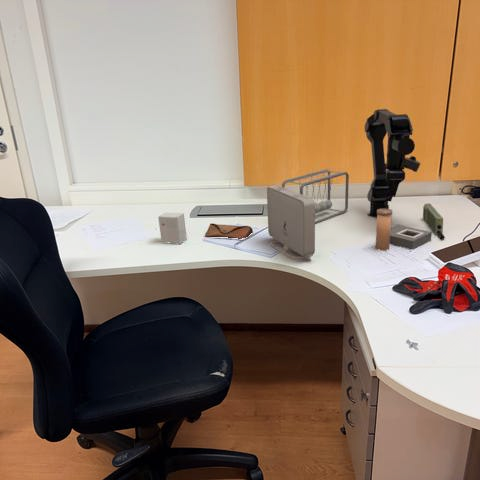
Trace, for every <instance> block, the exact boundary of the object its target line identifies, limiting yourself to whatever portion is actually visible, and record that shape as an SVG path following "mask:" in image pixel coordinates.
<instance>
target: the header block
mask: <svg viewBox="0 0 480 480" xmlns="http://www.w3.org/2000/svg"><path fill="white" fill-rule="evenodd" d="M432 232H433V231H428V230H425V229H419V228H415V227H411V226H405V225H401V224H395V225H393V226H391V230H390V245H393V246H397V247H400V246H401V247H400V248H404V247H405V249H408V250H412V249H413V250H414V249H416V248H419V247H420V246H423V245H425V244H427V243H429V242H430V241H432V235H433V233H432ZM418 246H419V247H418Z"/></svg>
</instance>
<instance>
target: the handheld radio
mask: <svg viewBox="0 0 480 480" xmlns="http://www.w3.org/2000/svg"><path fill="white" fill-rule="evenodd" d="M422 219H423V220H424V222H425V223H426V224H427V226H428V228H429V229H430V230H431V232H433V233H432V234H434V235H435V236H439V237H440V239H441V240H444V239H445V238H446V237H445V235H444V233H443V230H444V229H443V228H444V218H443V217H442V215H441V214H440V212H438V210H436V208H434V206H433V205H432V203H424V204H423V209H422Z"/></svg>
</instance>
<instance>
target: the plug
mask: <svg viewBox="0 0 480 480" xmlns="http://www.w3.org/2000/svg"><path fill="white" fill-rule="evenodd" d="M392 215H393V210H392V209H390V208H389V209H378V210H377V217H376V218H377V219H376V230H375V232H376V233H375V249H376V250H378V249H380V250H379V251H388V250H390V245H391V244H390V230H391V227H392V226H391V225H392ZM387 249H388V250H387Z"/></svg>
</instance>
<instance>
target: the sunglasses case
mask: <svg viewBox="0 0 480 480" xmlns="http://www.w3.org/2000/svg"><path fill="white" fill-rule="evenodd" d="M251 233H254V231H253V228H252V227H251V226H249V225H236V224H235V225H232V224H220V223H219V224H217V223H209V226H208V228H207V231H206V233H205V235H204V236H205V237H228V238H238V239H242V238H246V237H248V236H249V235H250V234H251ZM248 238H249V237H248Z"/></svg>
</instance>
